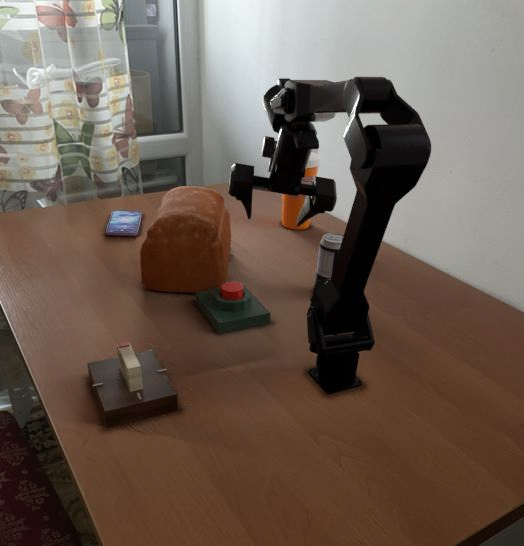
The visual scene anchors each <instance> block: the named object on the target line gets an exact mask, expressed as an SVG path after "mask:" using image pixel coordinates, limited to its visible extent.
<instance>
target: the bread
mask: <svg viewBox="0 0 524 546" xmlns="http://www.w3.org/2000/svg"><path fill="white" fill-rule="evenodd" d="M230 216H231V215H230V211H229V210H228V209H227V207H226V206H225V198H224V197H223V195H221V193H220V192H219V191H217V190H214V189H210V188H208V187H205V186H197V185H182V186H177V187H174V188H171V189H170V190H169V191H167V193H166V194H164V196H163V197H162V198H161V205H160V206H159V207H158V210H157V212H156V213H155V214H154V216H153V219H152V223H151V224H150V225H149V227H148V229H147V231H146V236H145V239H144V241H143V242H142V244H141V247H140V250H139V267H140V275H141V276H140V277H141V284H142V285H143V286H144V287H145V288H146V289H149V290H153V291H156V292H167V293H169V292H170V293H183V294H184V293H187V294H195V292H200V291H206V290H212V289H217V288H218V287H220V286H222V284H224V283H226V282H227V279H228V271H229V266H230V265H229V264H230V257H231V255H230V253H231V245H232V244H231V243H232V230H231V217H230Z"/></svg>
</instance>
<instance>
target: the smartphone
mask: <svg viewBox="0 0 524 546" xmlns="http://www.w3.org/2000/svg"><path fill="white" fill-rule="evenodd" d="M142 215H143V214H142V211H140V210H119V209H117V210H112V212H111V215H110V218H109V220H108V224H107V226H106V229H105V233H106V234H105V235H108V236H121V237H122V236H123V237H126V236H127V237H135V236H138V234H139V230H140V224H141V220H142Z"/></svg>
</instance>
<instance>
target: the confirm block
mask: <svg viewBox="0 0 524 546" xmlns="http://www.w3.org/2000/svg"><path fill="white" fill-rule="evenodd" d="M241 284H242V283H241ZM242 285H243V297H242V298H240V299H236V300H230V299H225V298H223V297H222V296H221V286H220V287H218V288H217V289H212V290H206V291H200V292H195V293H194V296H195V304H196V305H197V307H198V308H199V309H200V311H201V312H202V313H203V315H204V316H205V317H206V319H207V320H208V321H209V323H210V324H211V325H212V327H213V328H214V330H215V331H216V332H217V333H218V334H223V333H228V332H234V331H238V330H243V329H247V328H252V327H257V326H262V325H267V324H270V323H271V312H270V311H269V309H268V308H266V305H264V304H263V303H262V302H261V301H260V300H259V299H258V298H257V297H256V296H255V294H253V293H252V291H251V290H250V289H249V288H248V287H247V286H246V285H245V284H244V283H243V284H242Z"/></svg>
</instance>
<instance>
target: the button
mask: <svg viewBox="0 0 524 546" xmlns="http://www.w3.org/2000/svg"><path fill="white" fill-rule="evenodd" d="M221 296H222V297H223V298H225V299H230V300H236V299H240V298H242V297H243V285H242V283H240V282H237V281H226V283H224V284H222V286H221Z"/></svg>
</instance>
